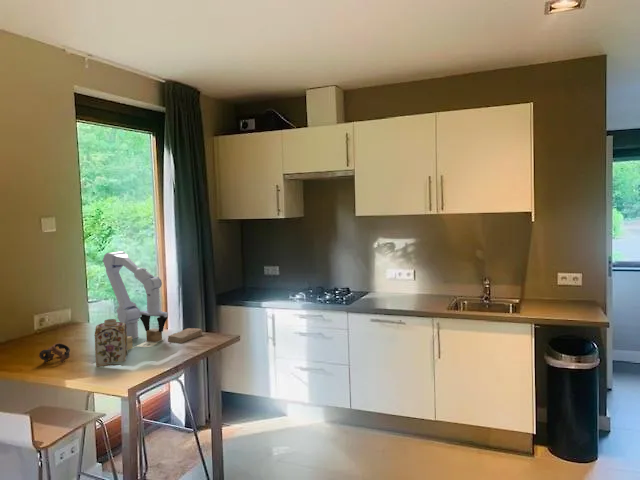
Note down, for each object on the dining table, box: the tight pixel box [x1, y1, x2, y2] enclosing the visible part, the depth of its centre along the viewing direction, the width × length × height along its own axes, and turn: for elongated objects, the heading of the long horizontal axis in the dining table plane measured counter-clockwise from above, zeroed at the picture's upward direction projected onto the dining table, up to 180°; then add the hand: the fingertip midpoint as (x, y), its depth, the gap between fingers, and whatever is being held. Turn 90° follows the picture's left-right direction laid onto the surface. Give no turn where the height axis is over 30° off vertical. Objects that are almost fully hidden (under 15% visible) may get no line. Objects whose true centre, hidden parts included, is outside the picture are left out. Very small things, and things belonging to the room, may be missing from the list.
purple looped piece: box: [38, 343, 71, 363], centre depth 219 cm, size 12×10×8 cm
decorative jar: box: [94, 318, 129, 368], centre depth 217 cm, size 12×12×18 cm
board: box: [127, 341, 158, 351], centre depth 238 cm, size 14×24×1 cm, turn 162°
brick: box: [167, 327, 203, 344], centre depth 249 cm, size 17×8×5 cm, turn 156°
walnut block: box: [145, 327, 163, 343], centre depth 245 cm, size 5×5×5 cm
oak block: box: [127, 336, 134, 351], centre depth 232 cm, size 5×5×5 cm
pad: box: [143, 337, 165, 344], centre depth 245 cm, size 7×7×1 cm
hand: (154, 331), depth 245 cm, fingers open, 7 cm apart
